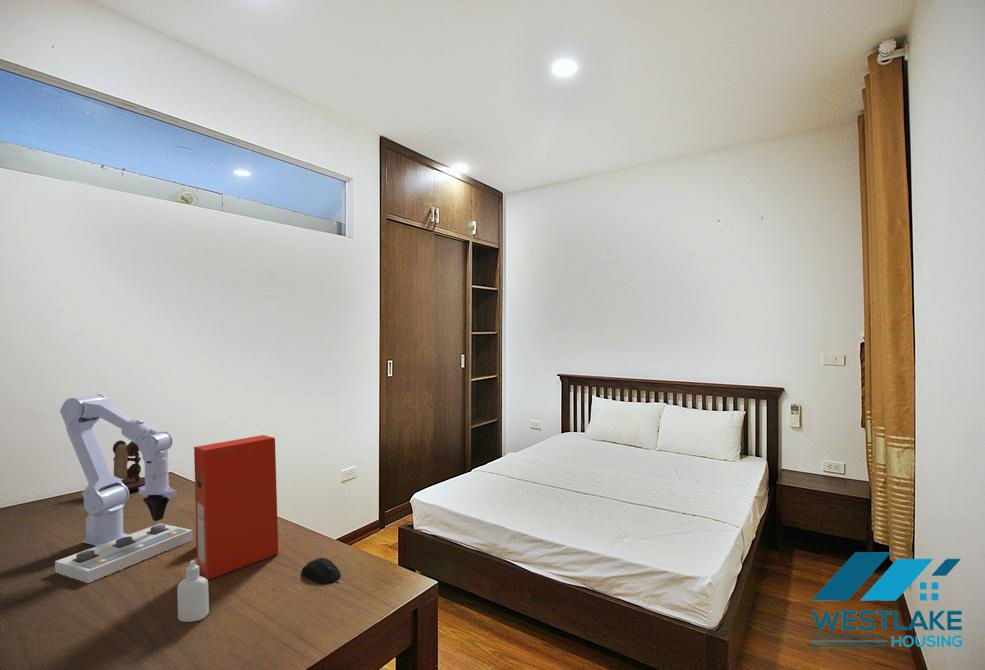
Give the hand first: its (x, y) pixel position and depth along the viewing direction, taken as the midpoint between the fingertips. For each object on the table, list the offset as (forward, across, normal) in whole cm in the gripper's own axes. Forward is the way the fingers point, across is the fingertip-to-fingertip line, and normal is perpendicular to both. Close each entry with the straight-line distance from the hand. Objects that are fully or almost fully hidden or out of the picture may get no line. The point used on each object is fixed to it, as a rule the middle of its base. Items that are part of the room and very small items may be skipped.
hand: (158, 519), depth 139 cm
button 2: (+4, 0, 0) cm, 4 cm away
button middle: (+4, 0, -9) cm, 10 cm away
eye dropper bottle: (+7, +48, -22) cm, 54 cm away
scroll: (+6, -65, +27) cm, 70 cm away
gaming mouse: (+7, +62, +2) cm, 63 cm away
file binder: (+7, +35, -1) cm, 36 cm away
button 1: (+4, 0, -18) cm, 18 cm away
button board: (+6, +2, -9) cm, 11 cm away
